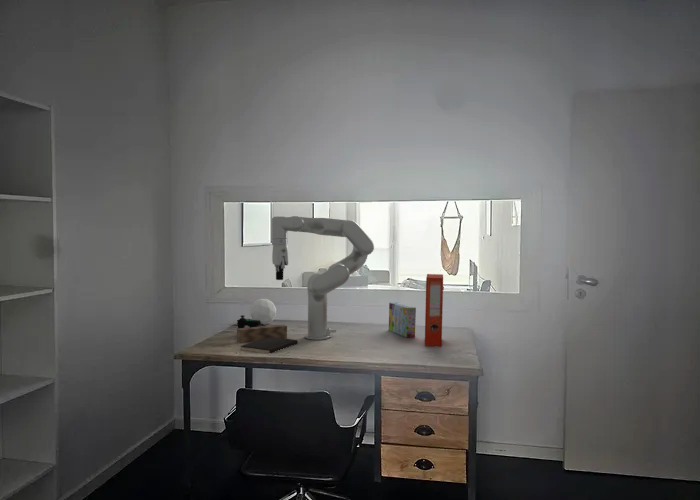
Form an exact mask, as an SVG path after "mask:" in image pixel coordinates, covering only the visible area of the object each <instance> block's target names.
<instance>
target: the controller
mask: <svg viewBox="0 0 700 500" xmlns="http://www.w3.org/2000/svg"><path fill="white" fill-rule="evenodd" d="M236 324H237V325H236V326H237V329H239V328H246V326H247V327H248V328H251V327H260V326H261V325H262V324H261V322H260V320H252V319H250V318H248V319H247V318H245V315H240V318H239V319H237V320H236Z"/></svg>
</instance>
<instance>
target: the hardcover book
mask: <svg viewBox="0 0 700 500" xmlns="http://www.w3.org/2000/svg"><path fill="white" fill-rule="evenodd" d="M297 343H299V341H298V340H297V339H294V338H293V339H292V338H291V339H290V338H276V337H267V338H264V339H261V340H258V341H252V342H247V343H245V344H242V345H239V346H240V350H241V351H246V350H249V351H248V352H254V351H255V353H261V352H264V353H263V354H269V353H271V354H274V353H275V351H276V352H278V350H279V351H281V350H280V349H282V350H284V349H287V348H290V347H292V346H291V345H293V346H295V345H297ZM294 344H295V345H294ZM289 346H290V347H289ZM286 347H287V348H286ZM283 348H284V349H283Z"/></svg>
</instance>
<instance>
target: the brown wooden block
mask: <svg viewBox="0 0 700 500" xmlns="http://www.w3.org/2000/svg"><path fill="white" fill-rule="evenodd" d="M267 337H276V338H285V339H288V325H285V324H278V325H277V324H276V325H275V324H274V325H263V326H257V327H251V328H250V327H244V328H239V329H238V328H236V341H237V343H239V344H240V343H251V341H252V342H255V341H258V340H261V339H264V338H267Z"/></svg>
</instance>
